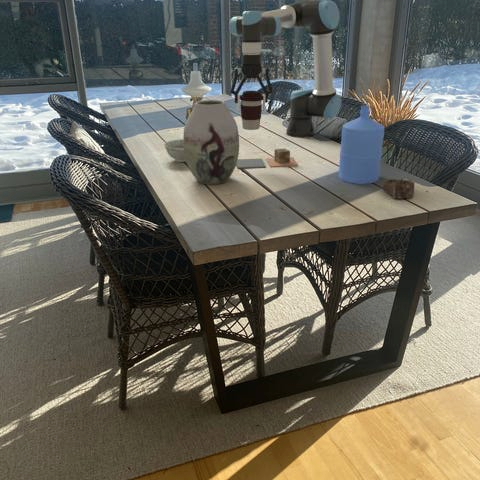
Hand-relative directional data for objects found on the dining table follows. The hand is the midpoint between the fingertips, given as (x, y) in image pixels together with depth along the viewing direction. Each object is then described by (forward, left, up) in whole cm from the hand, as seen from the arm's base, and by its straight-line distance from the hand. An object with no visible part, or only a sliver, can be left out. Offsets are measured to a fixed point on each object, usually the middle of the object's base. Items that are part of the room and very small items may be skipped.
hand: (251, 111), depth 203 cm
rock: (-47, +50, -24) cm, 73 cm away
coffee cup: (0, 0, -7) cm, 7 cm away
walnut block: (-13, +1, -22) cm, 25 cm away
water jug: (-39, +26, -23) cm, 52 cm away
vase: (+18, +20, -23) cm, 35 cm away
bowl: (+30, -10, -23) cm, 39 cm away
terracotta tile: (-13, +1, -22) cm, 26 cm away
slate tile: (+1, +1, -22) cm, 23 cm away
